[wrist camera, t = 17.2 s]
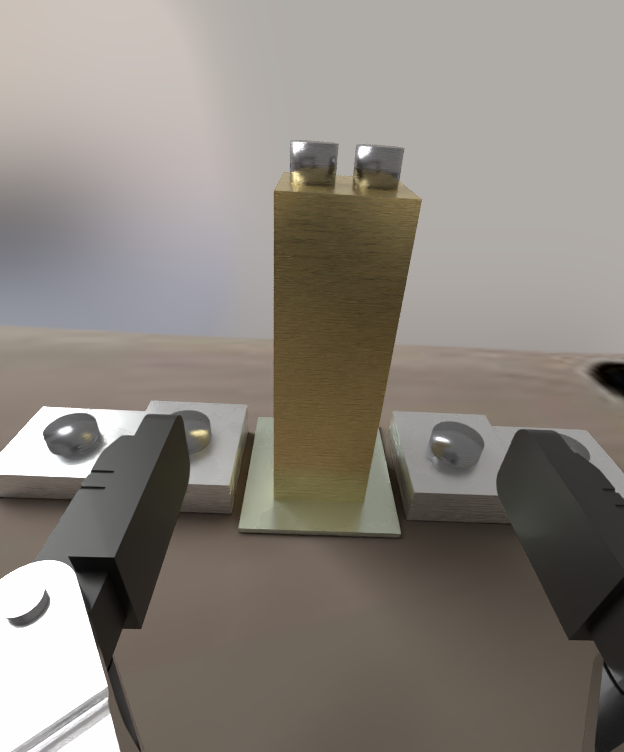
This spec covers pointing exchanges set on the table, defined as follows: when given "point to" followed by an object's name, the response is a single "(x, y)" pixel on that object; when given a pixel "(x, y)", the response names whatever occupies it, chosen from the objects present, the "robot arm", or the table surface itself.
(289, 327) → the tall studded toy brick
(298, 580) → the table surface
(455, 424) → the studded plate chain
